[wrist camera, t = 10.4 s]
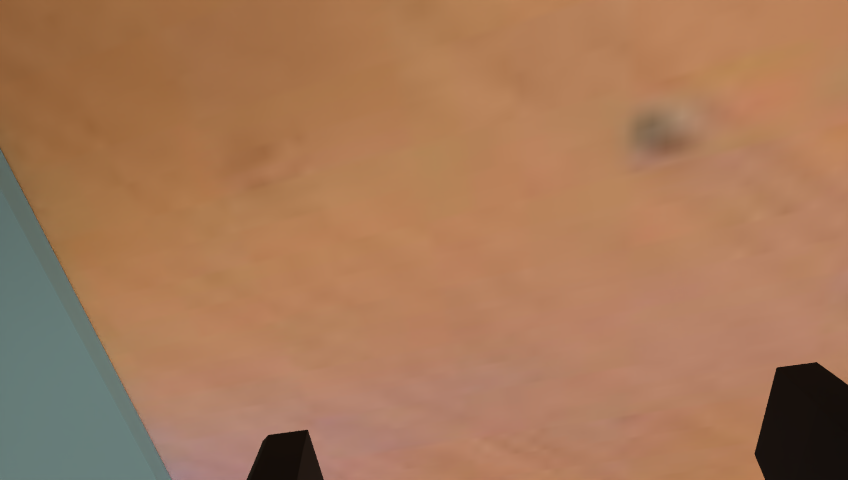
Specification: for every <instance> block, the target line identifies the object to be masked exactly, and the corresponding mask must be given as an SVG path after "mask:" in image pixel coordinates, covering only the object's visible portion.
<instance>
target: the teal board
mask: <svg viewBox="0 0 848 480" xmlns="http://www.w3.org/2000/svg"><path fill="white" fill-rule="evenodd" d="M0 480H171V478H170V476H169V474H168V472H167V470H166V468H165V466H164V464H163V462H162V460H161V458H160V456H159V455H158V453H157V451H156V449H155V447H154V445H153V443H152V441H151V439H150V437H149V435H148V433H147V431H146V429H145V427H144V426H143V424H142V422H141V420H140V418H139V416H138V414H137V412H136V410H135V408H134V406H133V404H132V402H131V400H130V398H129V397H128V395H127V393H126V391H125V389H124V387H123V385H122V383H121V381H120V379H119V377H118V375H117V373H116V371H115V369H114V368H113V366H112V364H111V362H110V360H109V358H108V356H107V354H106V352H105V350H104V348H103V346H102V344H101V342H100V340H99V339H98V337H97V335H96V333H95V331H94V329H93V327H92V325H91V323H90V321H89V319H88V317H87V315H86V313H85V311H84V310H83V308H82V306H81V304H80V302H79V300H78V298H77V296H76V294H75V292H74V290H73V288H72V286H71V284H70V283H69V281H68V279H67V277H66V275H65V273H64V271H63V269H62V267H61V265H60V263H59V261H58V259H57V257H56V255H55V254H54V252H53V250H52V248H51V246H50V244H49V242H48V240H47V238H46V236H45V234H44V232H43V230H42V228H41V226H40V225H39V223H38V221H37V219H36V217H35V215H34V213H33V211H32V209H31V207H30V205H29V203H28V201H27V199H26V197H25V196H24V194H23V192H22V190H21V188H20V186H19V184H18V182H17V180H16V178H15V176H14V174H13V172H12V170H11V168H10V167H9V165H8V163H7V161H6V159H5V157H4V155H3V153H2V151H1V149H0Z"/></svg>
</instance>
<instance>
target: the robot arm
mask: <svg viewBox="0 0 848 480" xmlns="http://www.w3.org/2000/svg"><path fill="white" fill-rule="evenodd" d="M755 456H756V459H757V461H758V464H759V466H760V468H761V471H762V473H763V476H764V478H765V480H848V385H847V384H846V383H844V382H843V381H842V380H840V379H839V378H838V377H836V376H835V375H834V374H832V373H831V372H829V371H828V370H827V369H825V368H824V367H823V366H821V365H820V364H818V363H817V362H815V363H808V364H800V365H793V366H785V367H778V368H776V372H775V376H774V380H773V384H772V388H771V392H770V396H769V400H768V404H767V407H766V411H765V415H764V419H763V423H762V427H761V431H760V435H759V439H758V443H757V446H756V450H755ZM247 480H324V479H323V476H322V473H321V470H320V467H319V463H318V460H317V457H316V454H315V451H314V448H313V445H312V442H311V438H310V435H309V432H308V430H303V431H295V432H288V433H280V434H272V435H268V436H267V437H266V438H265V439H264V440H263V442H262V445H261V447H260V449H259V452H258V454H257V457H256V459H255V462H254V464H253V466H252V468H251V471H250V473H249V475H248V478H247Z"/></svg>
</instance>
